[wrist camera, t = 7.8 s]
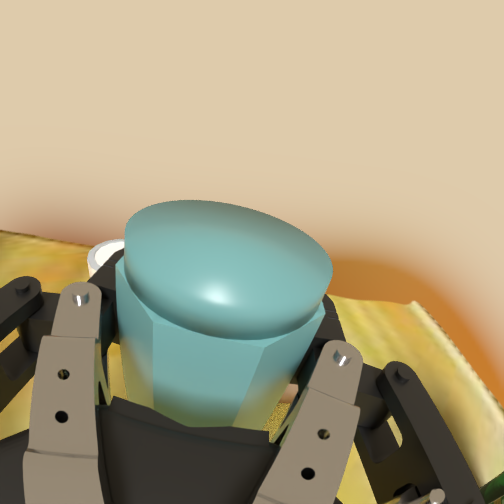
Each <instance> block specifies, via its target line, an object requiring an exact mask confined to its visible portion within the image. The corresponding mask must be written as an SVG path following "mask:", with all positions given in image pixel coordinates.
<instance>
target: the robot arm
mask: <svg viewBox="0 0 504 504" xmlns="http://www.w3.org/2000/svg"><path fill="white" fill-rule="evenodd" d="M123 256H124V248H123V249H120V250H118V251H116V252H114V253H113V254H112V255H111V256H110V257H109V259H108V260H107V261H106V262H105V263H104V264H103V265H102V266H101V267H100V268H99V269H98V270H97V271H96V272H95V273H94V274H93V276H92V277H91V278H90V279H89V280H88V281H87V282H76V283H72V284H70V285H68V286H66V287H65V288H64V289H63V290H62V292H61V294H58V293H47V292H42V289H41V284H40V282H39V281H38V280H37V279H36V278H34V277H30V276H23V277H19V278H16V279H14V280H12V281H11V282H9V283H8V284H6V285H5V286H4V287H2V288H1V289H0V342H1V341H2V340H3V339H4V338H5V337H6V336H7V335H8V334H10V333H11V332H12V331H13V330H14V329H15V328H17V331H18V333H19V337H18V338H17V339H16V340H14V341H13V342H12V343H11V344H10V345H9V346H8V347H7V348H6V349H5V350H4V351H2V352H1V353H0V413H1V412H2V410H3V409H4V408H5V407H6V406H7V405H8V404H9V402H10V401H11V400H12V399H13V398H14V397H15V396H16V394H17V393H18V392H19V391H20V390H21V389H22V388H23V387H24V386H25V385H26V383H27V382H28V381H29V380H30V379H31V378H32V377H33V376H34V375H35V377H34V384H33V392H32V401H31V412H30V427H29V429H27V430H24V431H22V432H19V433H17V434H15V435H12V436H10V437H7V438H5V439H2V440H0V504H343V503H342V502H341V501H340V500H339V499H338V498H337V497H336V494H337V492H338V489H339V486H340V483H341V480H342V477H343V474H344V471H345V468H346V464H347V461H348V458H349V454H350V451H351V447H352V444H353V440H354V443H355V446H356V448H357V451H358V453H359V456H360V459H361V461H362V464H363V467H364V469H365V472H366V475H367V477H368V480H369V483H370V485H371V488H372V491H373V494H374V496H375V499H376V502H377V504H485V501H484V499H483V496H482V494H481V492H480V490H479V488H478V485H477V483H476V481H475V479H474V477H473V475H472V473H471V471H470V469H469V467H468V465H467V463H466V461H465V459H464V457H463V455H462V453H461V451H460V449H459V447H458V445H457V443H456V442H455V440H454V438H453V436H452V434H451V432H450V431H449V429H448V427H447V425H446V423H445V422H444V420H443V418H442V416H441V415H440V413H439V411H438V410H437V408H436V406H435V404H434V403H433V401H432V399H431V398H430V396H429V394H428V393H427V391H426V389H425V388H424V386H423V385H422V383H421V381H420V380H419V378H418V376H417V375H416V373H415V372H414V371H413V370H412V369H411V368H410V367H409V366H408V365H406V364H404V363H402V362H397V361H392V362H389V363H388V364H387V365H386V366H385V368H384V369H383V370H381V369H378V368H375V367H373V366H370V365H367V364H365V363H363V358H362V355H361V354H360V352H359V351H358V350H357V349H356V348H355V347H354V346H352V345H351V344H349V343H347V342H346V340H345V337H344V333H343V330H342V327H341V324H340V321H339V320H338V319H339V318H338V315H337V313H336V309H335V306H334V303H333V301H332V300H331V299H330V298H329V297H328V296H327V294H324V297H323V299H322V302H323V306H324V310H325V315H324V317H323V320H322V322H321V324H320V326H319V328H318V330H317V332H316V334H315V336H314V338H313V340H312V342H311V344H310V346H309V348H308V349H307V351H306V353H305V355H304V357H303V359H302V361H301V363H300V365H299V367H298V368H297V370H296V372H295V374H294V376H293V377H292V379H291V381H290V383H289V384H296V385H298V391H297V393H296V395H295V396H294V398H293V400H292V402H291V404H290V406H289V408H288V410H287V412H286V414H285V416H284V418H283V420H282V422H281V424H280V426H279V428H278V430H277V432H276V433H275V435H274V437H273V438H272V440H271V441H270V442H269V431H261V430H253V429H246V428H239V427H232V426H223V427H188V426H185V425H183V424H181V423H178V422H176V421H174V420H172V419H170V418H168V417H166V416H165V415H163V414H161V413H159V412H157V411H155V410H153V409H151V408H149V407H146V406H143V405H140V404H136V403H133V402H130V401H127V400H124V399H122V398H119V397H116V396H113V399H112V401H111V395H110V378H109V353H108V348H109V346H110V345H111V343H112V342H113V343H116V344H119V345H120V340H119V329H118V317H117V300H116V266H115V265H116V263H117V262H118V261H119V260H120V259H121V258H122V257H123ZM391 416H393V418H394V420H395V422H396V424H397V426H398V428H399V430H400V432H401V434H402V439H403V440H402V445H401V447H400V448H399V445H398V443H397V441H396V439H395V437H394V435H393V432H392V430H391V428H390V426H389V424H388V422H387V420H388V419H389V418H390V417H391Z"/></svg>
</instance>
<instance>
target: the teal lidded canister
mask: <svg viewBox="0 0 504 504" xmlns="http://www.w3.org/2000/svg"><path fill="white" fill-rule="evenodd" d="M115 266H116V300H117V317H118V329H119V340H120V350H121V358H122V366H123V373H124V380H125V386H126V392H127V398H128V401H130V402H133V403H136V404H140V405H143V406H146V407H149V408H151V409H153V410H155V411H157V412H159V413H161V414H163V415H165V416H166V417H168V418H170V419H172V420H174V421H176V422H178V423H181V424H183V425H185V426H188V427H223V426H232V427H239V428H246V429H253V430H262V428H263V427H264V425H265V424H266V422H267V420H268V419H269V417H270V415H271V414H272V412H273V410H274V409H275V407H276V405H277V404H278V402H279V400H280V399H281V397H282V395H283V393H284V392H285V390H286V388H287V386H288V385H289V383H290V381H291V379H292V377H293V376H294V374H295V372H296V370H297V368H298V367H299V365H300V363H301V361H302V359H303V357H304V355H305V353H306V351H307V349H308V348H309V346H310V344H311V342H312V340H313V338H314V336H315V334H316V332H317V330H318V328H319V326H320V324H321V322H322V320H323V317H324V315H325V310H324V306H323V302H322V299H323V297H324V294H325V292H326V290H327V287H328V285H329V283H330V280H331V278H332V273H333V266H332V263H331V260H330V258H329V256H328V254H327V253H326V252H325V250H324V249H323V248H322V247H321V246H320V245H319V244H318V243H317V242H316V241H315V240H314V239H313V238H311V237H310V236H309V235H307V234H306V233H304V232H303V231H301V230H299V229H298V228H296V227H294V226H292V225H290V224H289V223H286V222H284V221H282V220H280V219H278V218H275V217H273V216H270V215H268V214H265V213H262V212H259V211H256V210H253V209H249V208H245V207H241V206H236V205H232V204H227V203H221V202H213V201H201V200H179V201H169V202H163V203H158V204H155V205H151V206H148V207H146V208H144V209H142V210H140V211H138V212H137V213H135V214H134V215H133V216H132V217H131V218H130V219H129V221H128V223H127V225H126V228H125V240H124V256H123V257H122V258H121V259H120V260H119V261H118V262H117V263H116V265H115Z"/></svg>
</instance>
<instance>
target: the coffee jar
mask: <svg viewBox="0 0 504 504" xmlns="http://www.w3.org/2000/svg"><path fill="white" fill-rule="evenodd" d="M479 490H480V492H481V494H482V496H483V499H484V501H485V504H504V471H503V472H502V473H501V474H499V475H498V476H497V477H495V478H494V479H493V480H491V481H490V482H488V483H487V484H485V485H484V486H482V487H481V488H479Z"/></svg>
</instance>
